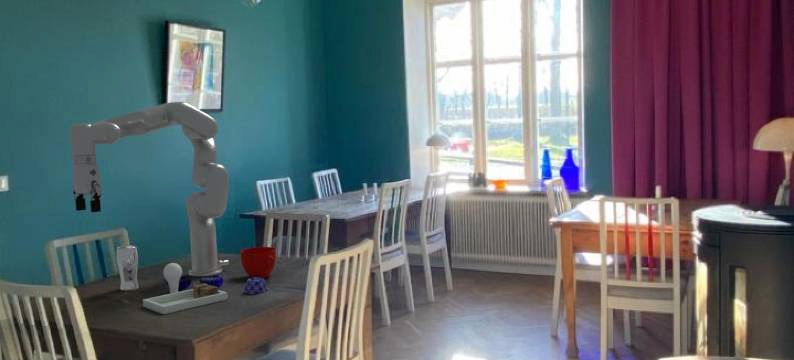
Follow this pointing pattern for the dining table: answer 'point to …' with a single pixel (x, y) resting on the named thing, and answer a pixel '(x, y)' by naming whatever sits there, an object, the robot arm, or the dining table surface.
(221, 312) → the dining table surface
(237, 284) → the dining table surface
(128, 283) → the beer glass
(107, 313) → the dining table surface
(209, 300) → the tray
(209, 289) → the walnut block
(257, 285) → the pudding
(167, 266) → the lightbulb
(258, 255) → the ceramic cup
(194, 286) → the walnut block
